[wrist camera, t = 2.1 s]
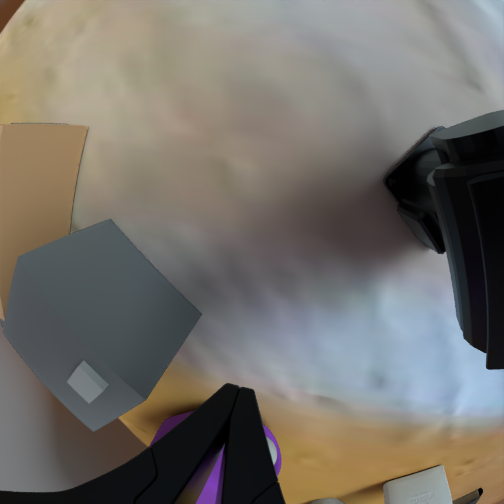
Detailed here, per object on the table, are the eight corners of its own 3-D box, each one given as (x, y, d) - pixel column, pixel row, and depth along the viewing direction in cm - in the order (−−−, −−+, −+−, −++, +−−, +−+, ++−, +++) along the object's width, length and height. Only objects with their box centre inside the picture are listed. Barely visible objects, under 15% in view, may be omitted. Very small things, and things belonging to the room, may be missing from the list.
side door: (78, 124, 19) (-5, 123, 11) (89, 127, 19) (4, 125, 10) (58, 285, 25) (-1, 324, 16) (68, 292, 25) (8, 333, 16)
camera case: (110, 218, 21) (10, 260, 11) (201, 314, 22) (141, 407, 13) (67, 293, 25) (-3, 342, 15) (138, 368, 26) (86, 438, 16)
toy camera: (304, 429, 25) (296, 509, 16) (224, 460, 30) (204, 520, 20) (227, 375, 24) (193, 463, 15) (158, 418, 29) (124, 478, 20)
